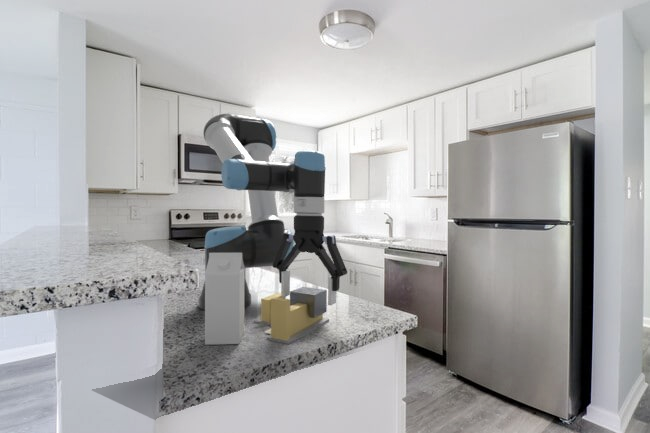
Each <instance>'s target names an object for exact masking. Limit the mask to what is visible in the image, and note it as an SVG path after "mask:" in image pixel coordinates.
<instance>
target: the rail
mask: <svg viewBox="0 0 650 433" xmlns="http://www.w3.org/2000/svg"><path fill="white" fill-rule="evenodd" d="M323 316H324V313H323V314H321V315H320V316H318V317H316V318H310V317H309V305H308V304H301V303H296V304H294V305H291V306H290V298H289V299H288V298H286V299H283V298H276V297H275V298H272V299H271V326H270V329H271V334H268V335H267V336H266V340H269V341H273V342H276V343H280V344H286V345H292V343H294V342H296V341H298V340H299V339H301V338H303V337H305V336H307V335H308V334H310V333H311V332H313V331H314V330H316V329H318V328H320V327H321V326H323V325H324V324H326V323H328V322H329V321H330V319H329V318H327V317H323Z"/></svg>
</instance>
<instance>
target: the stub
mask: <svg viewBox="0 0 650 433" xmlns="http://www.w3.org/2000/svg"><path fill="white" fill-rule="evenodd" d="M275 297H276V298H283V299H287V298H286V297H287V296H286V297H281V293H279V292H278V293H275V294H271V295H269V296H266V297H263V298H261V300H260V301H261V302H260V303H261V304H260V305H261V306H260V307H261V308H260V314H261V315H260V317H258V318H255V319H253V321H252V323H253V324H254V323H255V324H259V325H264V326H269V327H271V299H272V298H275Z"/></svg>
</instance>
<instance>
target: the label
mask: <svg viewBox="0 0 650 433" xmlns="http://www.w3.org/2000/svg"><path fill="white" fill-rule="evenodd" d="M263 334H268V335H271V328H269V329H267V330H265V331H264V332H263Z"/></svg>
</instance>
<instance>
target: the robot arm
mask: <svg viewBox="0 0 650 433" xmlns="http://www.w3.org/2000/svg"><path fill="white" fill-rule="evenodd" d="M203 138H204V140H205V143H206V145H208V147H210V148H211V149H212V150H214V151H215V153H216V154H217V156H218V158H219V160H220V162H221V165H222V166H221V172H220V173H221V174H220V175H221V180H222V185H223V187H224V189H227V190H235V191H248V192H247V193H248V201H249V207H250V217H251V223H250V224H249V225H248V227H247V228H246V226H245V225H231V226H225V227H224V226H223V227H217V228H214V229H210V230H208V231H207V232H206V234H205V237H204V238H205V240H204V273H205V272H206V268H207V264H208V260H209V253H242V259H243V263H244V309H245V308H248V307H249V306H251V304H252V294H251V293H250V289H249V287H248V282H247V279H246V269H249V268H250V269H251V268H263V267H272V268H275V269H277V270H278V279H279V280H278V281H279V284H280V285H281V286H280V287H281V288H280V290H281V293H280V294H281V297H287V296H290V291H291V270H290V269H289V267H290V266H291V264H292V263H293V262H294V261H295V260H296V259H297V257H298V256H299V255H300V253H310V254H313V253H314V254H315V255H316V256H317V257H318V259H319V260H320V261H321V263H322V264H323V266H324V267H325V269H326V271H327V272H328V273H329V275H330V276H329V277H328V279H327V280H328V281H327V282H328V285H327V286H328V287H327V290H328V291H327V306H333V305H334V304H337V292H338V291H339V290H340V283H341V282H340V277H343V276H345V275H347V274H348V270H347V268H346V265H345V262H344V260H343V258H342V255H341V252H340V250H339V248H338V246H337V241H336V238H337V237H336V235H332V234H331V235H327V236H325V234H324V230H325V217H324V215H323V214H324V213H325V192H326V190H325V188H326V185H325V184H326V159H325V158H326V157H325V155H324V153H323V152H321V151H316V150H300V151H297V152H295V154H294V161H293V163H286V162H272V161H270V157H271V155H272V153H273V151H274V150H275V148H276V145H277V140H276V139H277V132H276V128H275V126H274V123H272V122H271V120H268V119H265V118H262V117H251V116H245V115H241V114H233V113H221V114H218V115H215V116H213V117H212V118H210V119H209V120H208V121H207V122H206V124H205V126H204V128H203ZM275 192H283V193H290V194H291V193H293V200H294V201H293V213H295V214H296V215H294V216H293V229H294V230H293V231H294V233H293V232H292V231H291V230H290V229H288V228H285V223H284V221H283V220H282V219H281V218H279V215H278V209H277V208H278V207H277V201H276V195H275ZM323 244H325V245H326V247H327V250H328V252H329V254H328V253H327V250H326V248H325V247H324V246H323ZM330 256H331V257H330ZM198 308H199V309H200V310H203V311H205V281H204V282H203V286H202V289H201V292H200V296H199V297H198Z"/></svg>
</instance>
